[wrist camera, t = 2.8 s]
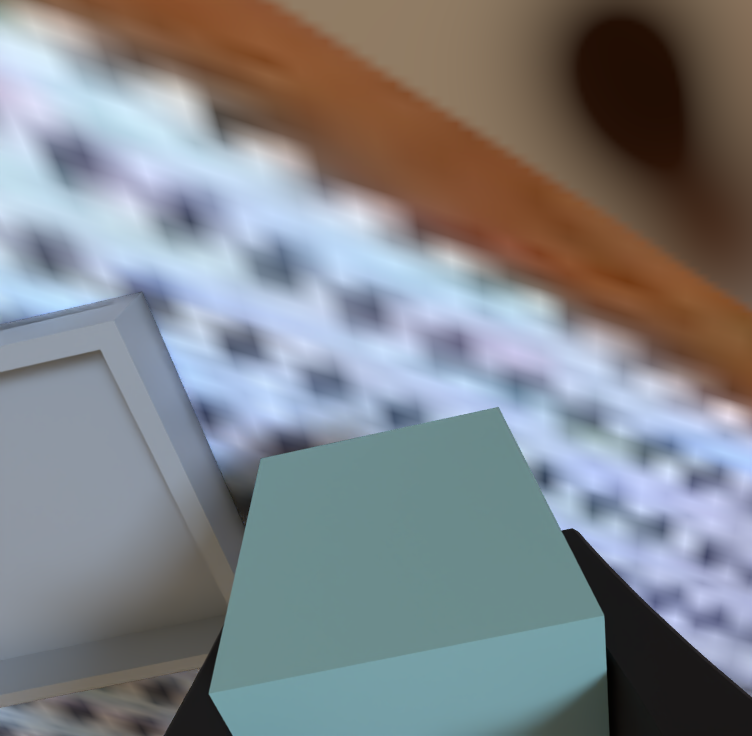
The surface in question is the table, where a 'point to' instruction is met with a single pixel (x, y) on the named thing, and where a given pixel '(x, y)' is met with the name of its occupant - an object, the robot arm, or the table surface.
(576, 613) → the teal block
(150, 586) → the tray
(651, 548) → the table surface
